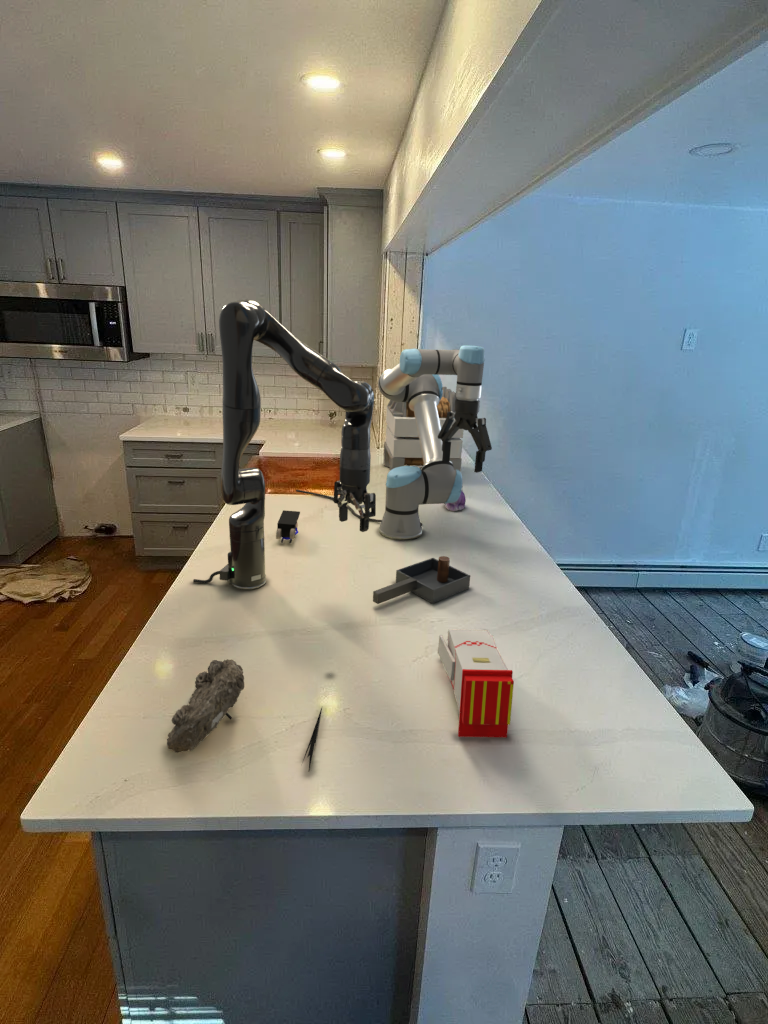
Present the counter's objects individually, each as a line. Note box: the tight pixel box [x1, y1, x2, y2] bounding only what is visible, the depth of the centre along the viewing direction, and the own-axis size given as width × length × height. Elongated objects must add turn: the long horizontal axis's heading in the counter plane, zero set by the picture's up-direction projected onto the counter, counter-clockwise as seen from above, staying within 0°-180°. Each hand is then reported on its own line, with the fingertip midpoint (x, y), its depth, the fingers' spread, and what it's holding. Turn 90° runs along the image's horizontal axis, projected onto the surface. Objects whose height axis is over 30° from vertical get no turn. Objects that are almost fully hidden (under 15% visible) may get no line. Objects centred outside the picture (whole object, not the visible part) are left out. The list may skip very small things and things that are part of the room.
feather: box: [301, 673, 332, 771], centre depth 108 cm, size 2×28×2 cm
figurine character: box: [275, 509, 301, 544], centre depth 191 cm, size 7×8×15 cm
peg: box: [437, 555, 451, 583], centre depth 165 cm, size 3×3×7 cm
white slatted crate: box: [383, 386, 465, 472], centre depth 268 cm, size 34×33×41 cm
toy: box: [437, 628, 515, 738], centre depth 117 cm, size 12×13×30 cm
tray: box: [372, 557, 471, 605], centre depth 158 cm, size 29×15×4 cm, turn 131°
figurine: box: [444, 470, 467, 512], centre depth 226 cm, size 9×10×15 cm
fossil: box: [166, 658, 245, 754], centre depth 106 cm, size 22×10×15 cm
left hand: (353, 525), depth 145 cm, fingers open, 8 cm apart
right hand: (461, 466), depth 179 cm, fingers open, 13 cm apart
